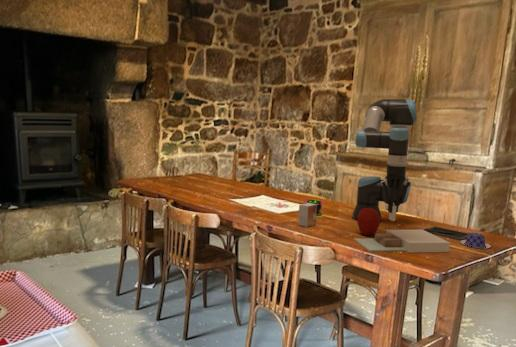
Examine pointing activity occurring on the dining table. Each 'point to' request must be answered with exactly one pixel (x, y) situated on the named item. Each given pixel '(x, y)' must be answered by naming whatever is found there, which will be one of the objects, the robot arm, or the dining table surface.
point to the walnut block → (387, 240)
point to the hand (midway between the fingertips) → (392, 219)
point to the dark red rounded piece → (368, 221)
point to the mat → (376, 245)
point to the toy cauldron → (317, 206)
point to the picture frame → (447, 233)
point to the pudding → (475, 241)
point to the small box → (307, 214)
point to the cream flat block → (420, 241)
